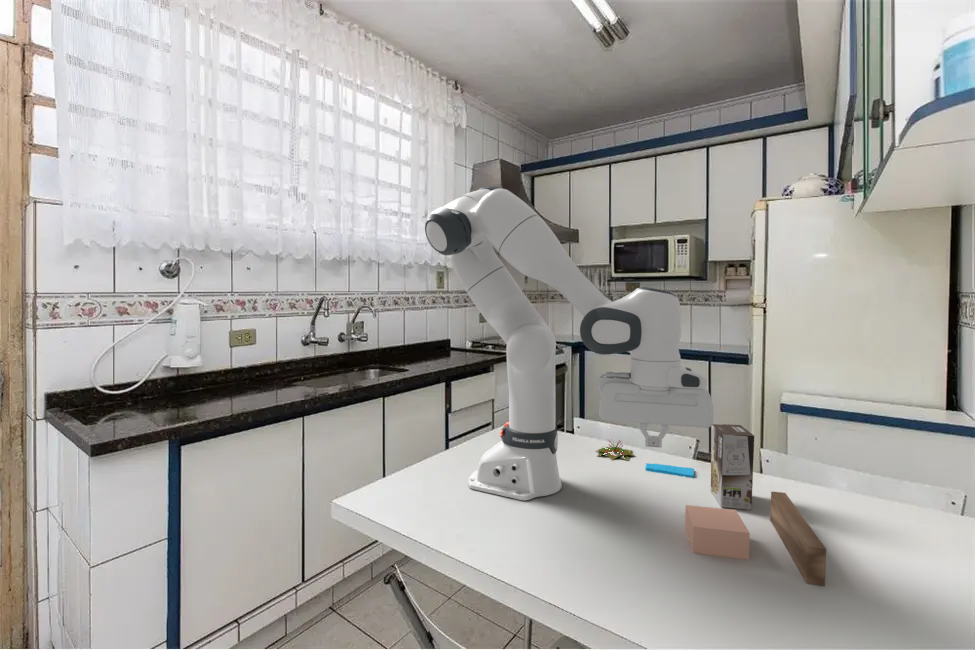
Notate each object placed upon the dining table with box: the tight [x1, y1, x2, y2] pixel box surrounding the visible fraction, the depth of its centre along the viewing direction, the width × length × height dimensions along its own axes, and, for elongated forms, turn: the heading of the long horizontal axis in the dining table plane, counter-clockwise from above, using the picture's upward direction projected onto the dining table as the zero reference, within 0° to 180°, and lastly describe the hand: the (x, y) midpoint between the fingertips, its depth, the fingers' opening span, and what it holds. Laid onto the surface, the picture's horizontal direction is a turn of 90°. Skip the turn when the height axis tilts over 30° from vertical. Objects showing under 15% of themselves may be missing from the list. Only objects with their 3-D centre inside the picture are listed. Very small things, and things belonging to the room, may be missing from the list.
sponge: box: [645, 463, 695, 479], centre depth 123 cm, size 2×12×6 cm
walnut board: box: [769, 490, 827, 587], centre depth 85 cm, size 2×22×6 cm, turn 162°
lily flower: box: [595, 438, 636, 462], centre depth 136 cm, size 12×12×5 cm
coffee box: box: [710, 423, 755, 511], centre depth 105 cm, size 9×6×16 cm
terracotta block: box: [684, 504, 751, 560], centre depth 87 cm, size 9×9×5 cm
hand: (653, 446), depth 90 cm, fingers closed
